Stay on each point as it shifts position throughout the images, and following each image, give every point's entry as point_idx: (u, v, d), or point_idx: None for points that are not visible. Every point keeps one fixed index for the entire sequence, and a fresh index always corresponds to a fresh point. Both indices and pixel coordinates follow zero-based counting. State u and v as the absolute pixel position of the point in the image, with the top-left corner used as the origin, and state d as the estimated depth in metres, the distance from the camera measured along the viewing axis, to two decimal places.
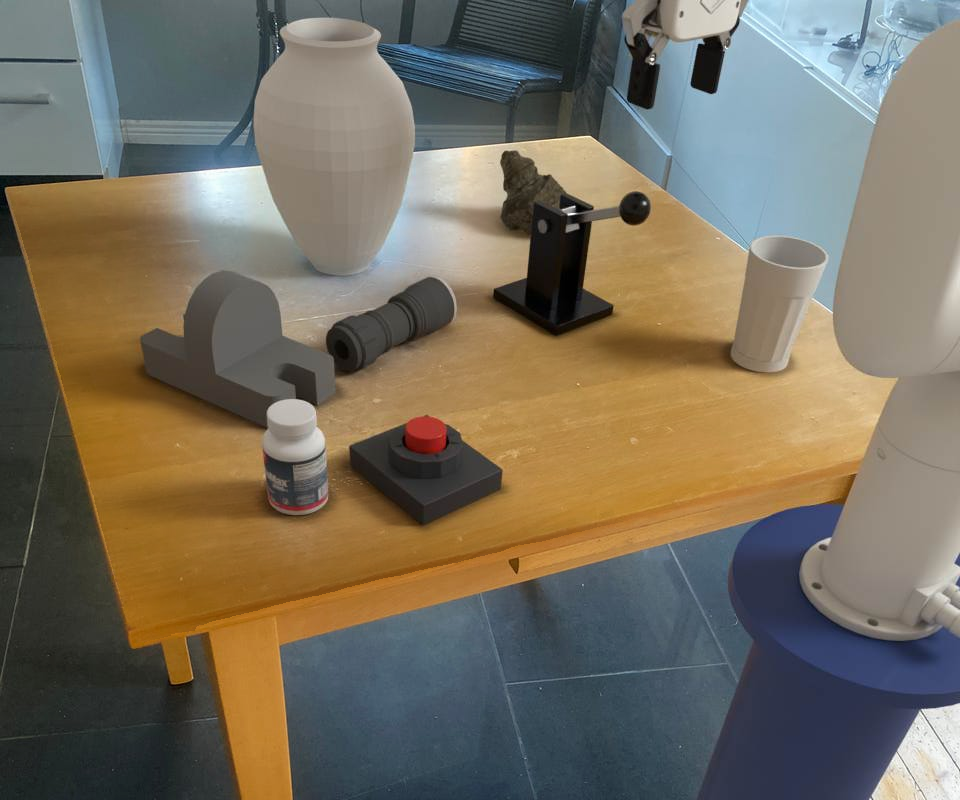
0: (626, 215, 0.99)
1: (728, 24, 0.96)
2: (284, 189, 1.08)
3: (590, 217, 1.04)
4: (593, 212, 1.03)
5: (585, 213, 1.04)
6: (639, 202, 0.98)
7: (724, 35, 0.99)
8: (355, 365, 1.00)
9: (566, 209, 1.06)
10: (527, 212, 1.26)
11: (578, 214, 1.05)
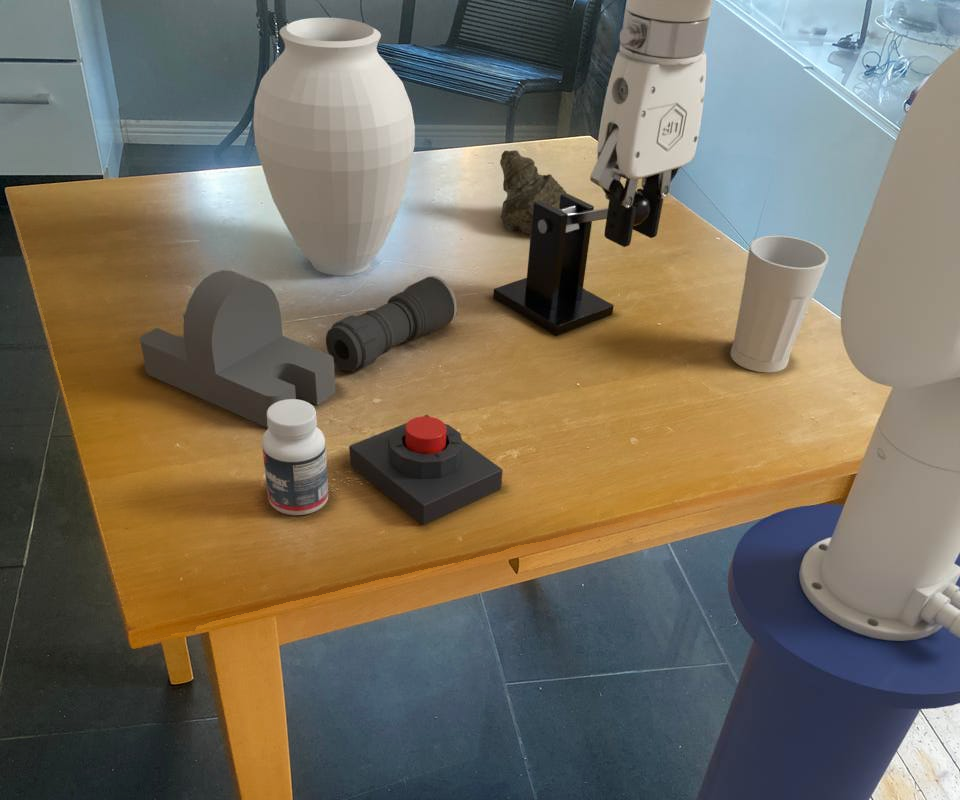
0: None
1: (686, 158, 0.96)
2: (284, 189, 1.08)
3: (590, 217, 1.04)
4: (593, 212, 1.03)
5: (585, 213, 1.04)
6: (639, 202, 0.98)
7: (666, 180, 0.98)
8: (355, 365, 1.00)
9: (566, 209, 1.06)
10: (527, 212, 1.26)
11: (578, 214, 1.05)
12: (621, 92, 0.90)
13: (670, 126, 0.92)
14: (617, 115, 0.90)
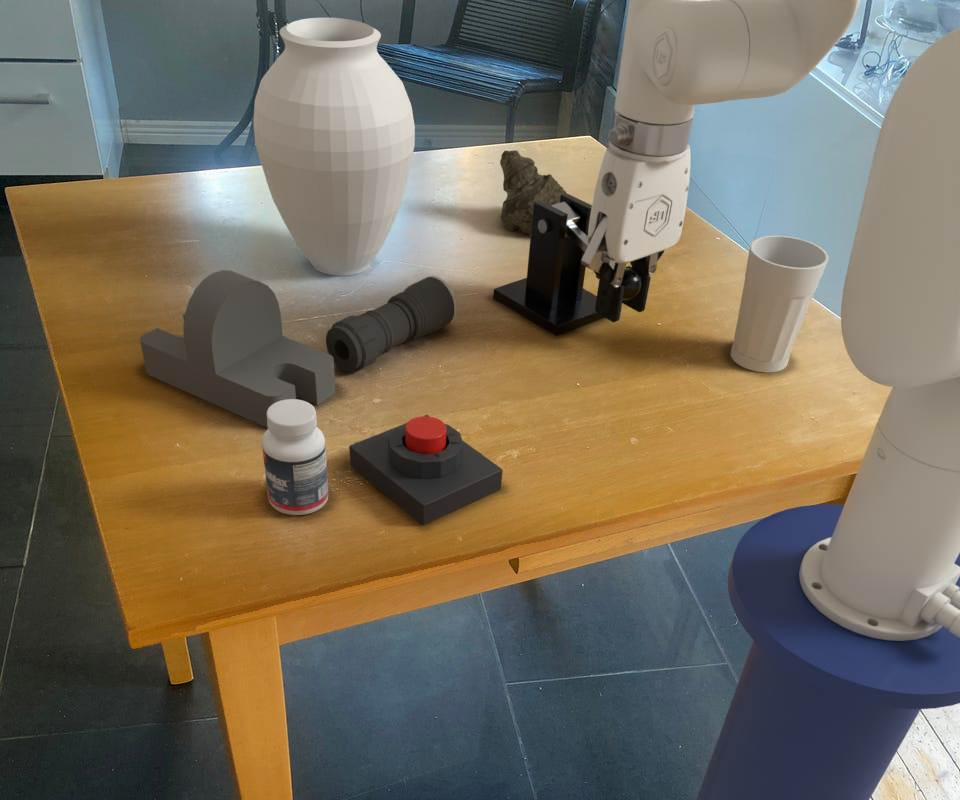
0: None
1: (672, 241, 1.02)
2: (284, 189, 1.08)
3: None
4: None
5: (584, 243, 1.06)
6: (632, 289, 1.04)
7: (653, 260, 1.04)
8: (355, 365, 1.00)
9: (570, 220, 1.07)
10: (527, 212, 1.26)
11: (578, 237, 1.07)
12: (610, 185, 0.95)
13: (656, 214, 0.98)
14: (606, 206, 0.96)
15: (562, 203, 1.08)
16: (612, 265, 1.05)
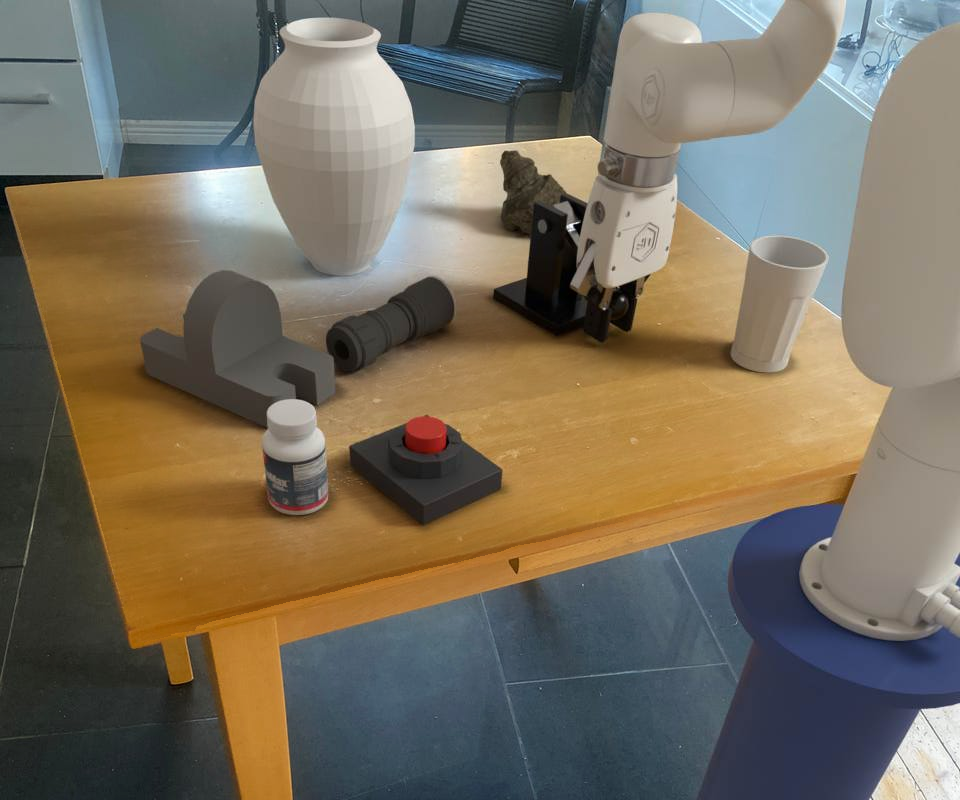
0: None
1: (659, 265, 1.04)
2: (284, 189, 1.08)
3: None
4: None
5: None
6: (618, 313, 1.07)
7: (640, 283, 1.07)
8: (355, 365, 1.00)
9: (570, 225, 1.07)
10: (527, 212, 1.26)
11: (575, 244, 1.07)
12: (599, 213, 0.98)
13: (643, 241, 1.00)
14: (595, 233, 0.98)
15: (565, 203, 1.07)
16: None
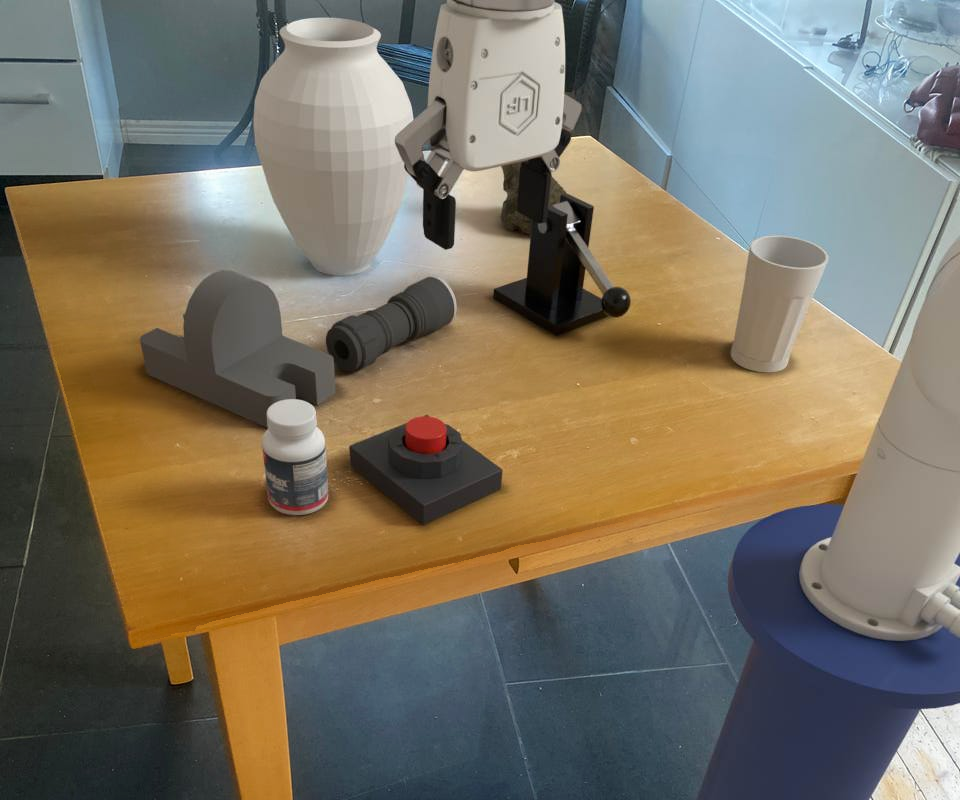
0: (605, 309, 1.07)
1: (547, 145, 0.75)
2: (284, 189, 1.08)
3: (582, 259, 1.07)
4: (587, 261, 1.07)
5: (581, 251, 1.07)
6: (620, 310, 1.06)
7: (548, 155, 0.78)
8: (355, 365, 1.00)
9: (571, 224, 1.07)
10: None
11: (576, 243, 1.07)
12: (447, 56, 0.69)
13: (516, 102, 0.71)
14: (443, 87, 0.69)
15: (565, 203, 1.07)
16: (605, 280, 1.07)
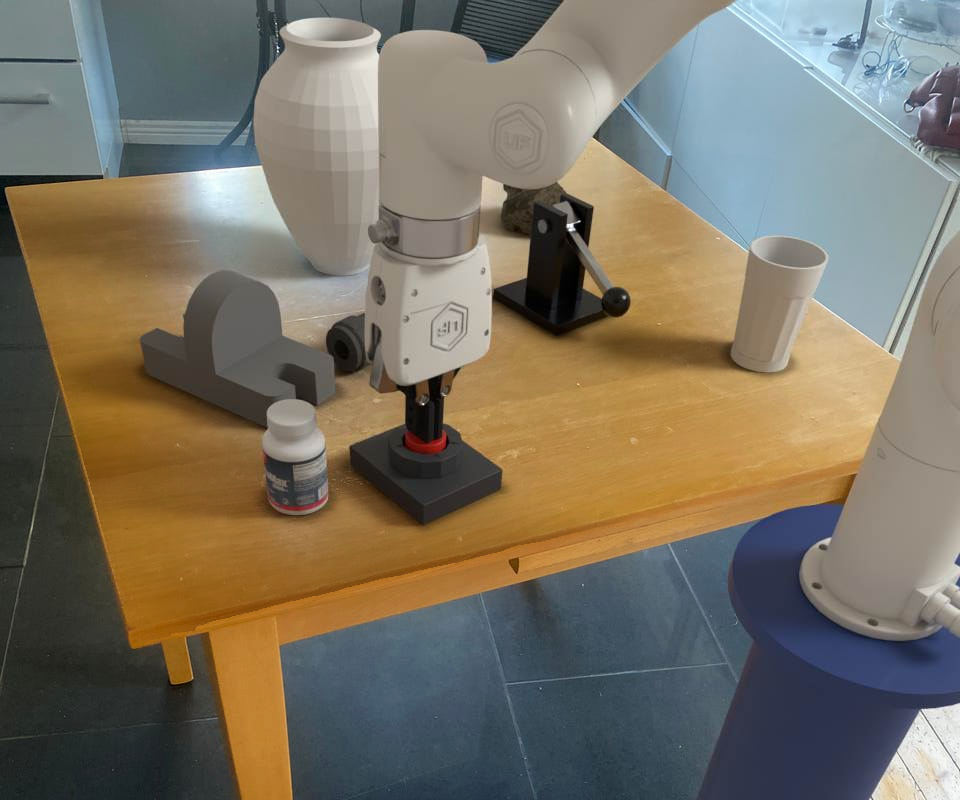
0: (605, 309, 1.07)
1: (477, 354, 0.81)
2: (284, 189, 1.08)
3: (582, 259, 1.07)
4: (587, 261, 1.07)
5: (581, 251, 1.07)
6: (620, 310, 1.06)
7: (447, 379, 0.83)
8: (355, 365, 1.00)
9: (571, 224, 1.07)
10: (527, 212, 1.26)
11: (576, 243, 1.07)
12: (380, 291, 0.74)
13: (446, 325, 0.77)
14: (378, 317, 0.75)
15: (565, 203, 1.07)
16: (605, 280, 1.07)
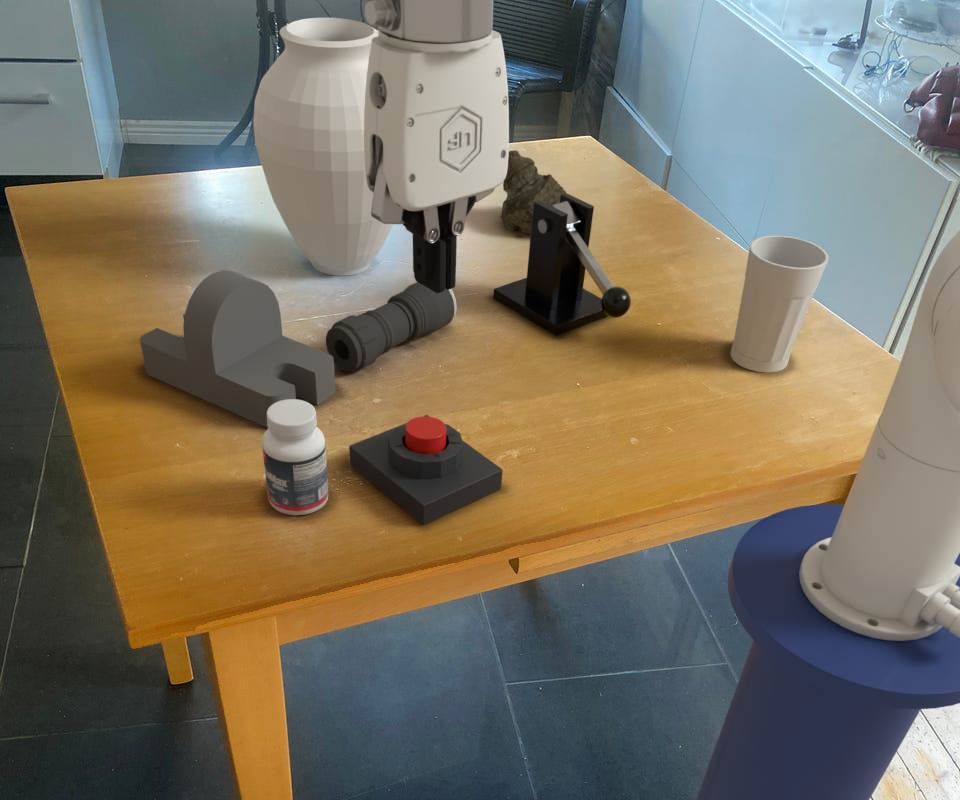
0: (605, 309, 1.07)
1: (493, 179, 0.71)
2: (284, 189, 1.08)
3: (582, 259, 1.07)
4: (587, 261, 1.07)
5: (581, 251, 1.07)
6: (620, 310, 1.06)
7: (459, 213, 0.73)
8: (355, 365, 1.00)
9: (571, 224, 1.07)
10: (527, 212, 1.26)
11: (576, 243, 1.07)
12: (381, 92, 0.65)
13: (457, 137, 0.67)
14: (379, 124, 0.65)
15: (565, 203, 1.07)
16: (605, 280, 1.07)
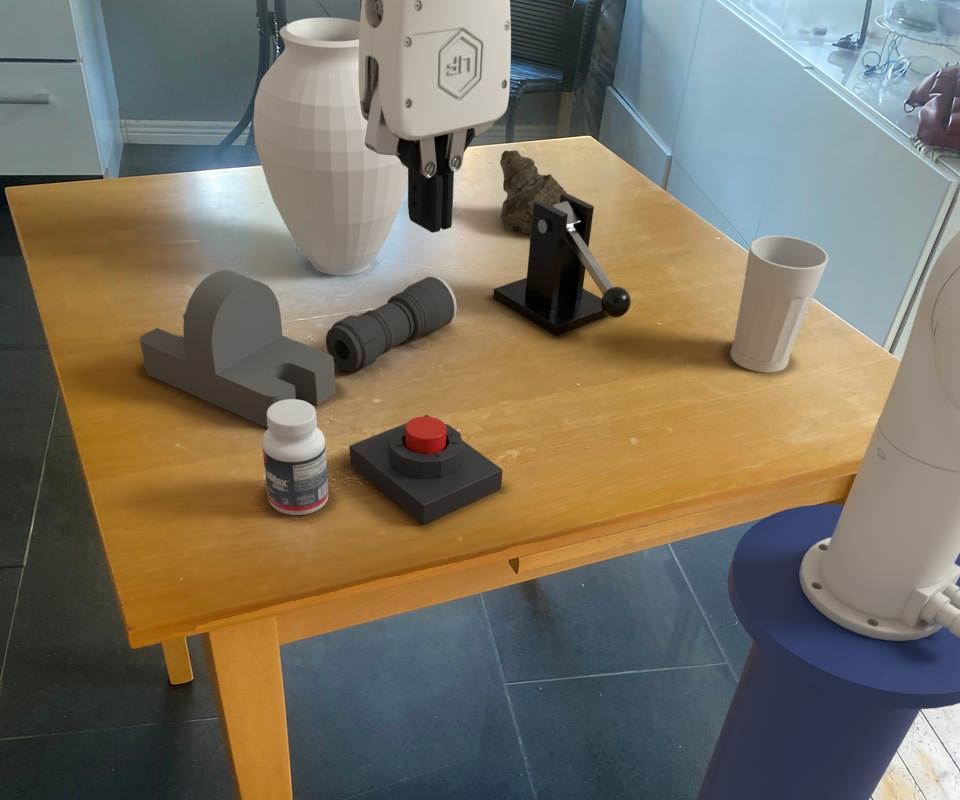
0: (605, 309, 1.07)
1: (493, 111, 0.68)
2: (284, 189, 1.08)
3: (582, 259, 1.07)
4: (587, 261, 1.07)
5: (581, 251, 1.07)
6: (620, 310, 1.06)
7: (457, 147, 0.70)
8: (355, 365, 1.00)
9: (571, 224, 1.07)
10: (527, 212, 1.26)
11: (576, 243, 1.07)
12: (377, 10, 0.61)
13: (457, 62, 0.64)
14: (374, 45, 0.62)
15: (565, 203, 1.07)
16: (605, 280, 1.07)
